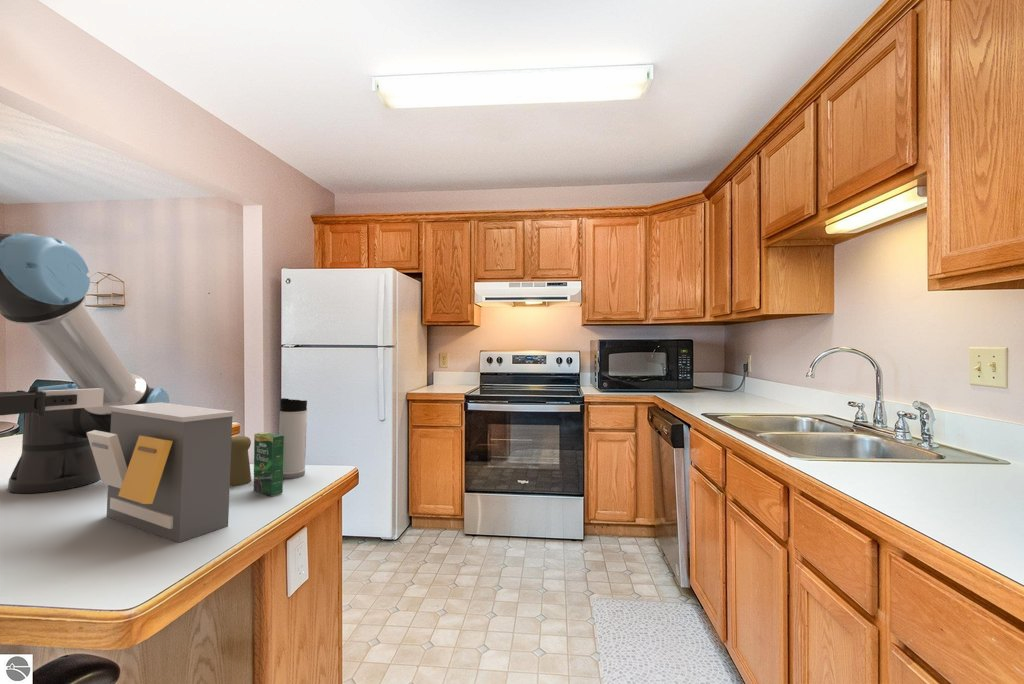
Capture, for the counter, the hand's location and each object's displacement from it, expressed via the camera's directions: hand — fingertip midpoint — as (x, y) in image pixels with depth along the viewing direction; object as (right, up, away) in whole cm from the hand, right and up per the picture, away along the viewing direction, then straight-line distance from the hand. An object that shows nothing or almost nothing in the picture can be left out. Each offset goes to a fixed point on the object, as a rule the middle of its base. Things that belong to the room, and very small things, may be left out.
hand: (100, 397), depth 67 cm
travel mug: (+7, -26, +45) cm, 52 cm away
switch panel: (-1, -25, +14) cm, 28 cm away
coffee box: (+8, -26, +32) cm, 41 cm away
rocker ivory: (-8, -17, +12) cm, 23 cm away
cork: (-3, -26, +38) cm, 46 cm away
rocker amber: (+1, -17, +4) cm, 18 cm away
